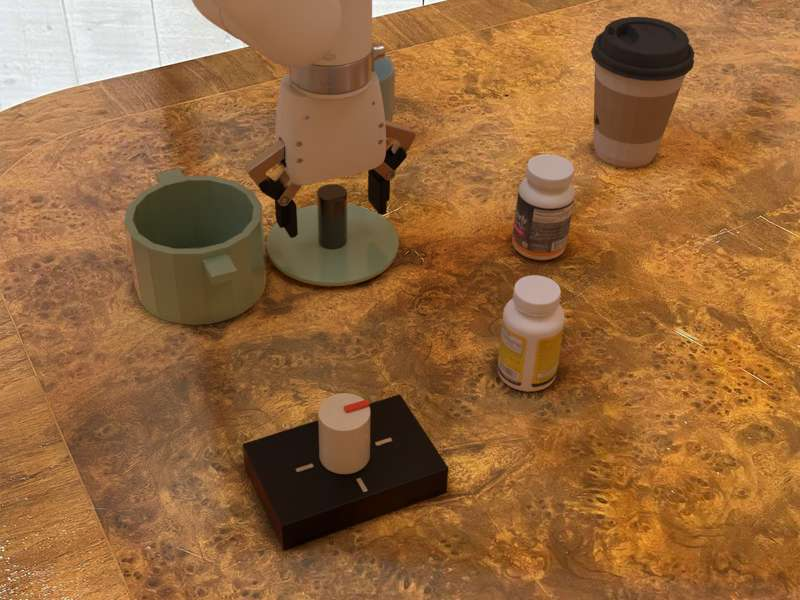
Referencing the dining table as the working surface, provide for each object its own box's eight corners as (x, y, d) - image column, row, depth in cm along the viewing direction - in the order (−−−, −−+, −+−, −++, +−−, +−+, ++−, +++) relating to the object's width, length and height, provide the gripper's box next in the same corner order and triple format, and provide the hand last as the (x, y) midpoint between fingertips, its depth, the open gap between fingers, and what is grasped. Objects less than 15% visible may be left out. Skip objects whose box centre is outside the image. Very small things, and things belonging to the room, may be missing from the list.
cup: (387, 123, 130) (389, 48, 124) (398, 157, 124) (400, 80, 118) (323, 127, 129) (322, 51, 122) (331, 162, 123) (330, 84, 116)
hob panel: (283, 551, 81) (281, 524, 79) (244, 468, 87) (242, 442, 85) (446, 492, 86) (449, 466, 84) (399, 418, 92) (400, 392, 90)
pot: (164, 357, 97) (153, 285, 92) (116, 247, 109) (103, 178, 104) (294, 321, 101) (291, 250, 96) (233, 219, 114) (227, 151, 108)
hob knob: (330, 480, 83) (329, 433, 79) (312, 445, 85) (310, 398, 82) (377, 465, 84) (378, 419, 81) (358, 431, 87) (358, 384, 83)
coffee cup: (577, 122, 131) (595, 7, 122) (671, 132, 130) (696, 17, 121) (574, 172, 123) (593, 53, 113) (674, 183, 122) (702, 63, 112)
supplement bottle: (557, 356, 99) (571, 274, 92) (553, 397, 95) (568, 314, 88) (499, 348, 99) (509, 266, 93) (493, 389, 95) (503, 305, 89)
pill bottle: (507, 231, 114) (516, 151, 107) (559, 229, 114) (572, 149, 108) (517, 263, 109) (527, 182, 103) (571, 261, 110) (585, 181, 103)
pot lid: (295, 305, 103) (292, 246, 99) (248, 228, 113) (244, 172, 108) (420, 270, 108) (423, 213, 103) (366, 200, 117) (366, 144, 113)
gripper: (398, 31, 102) (395, 180, 113) (226, 65, 97) (240, 218, 108) (434, 66, 97) (426, 218, 108) (253, 103, 91) (265, 260, 102)
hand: (333, 218), depth 108 cm, fingers open, 9 cm apart
